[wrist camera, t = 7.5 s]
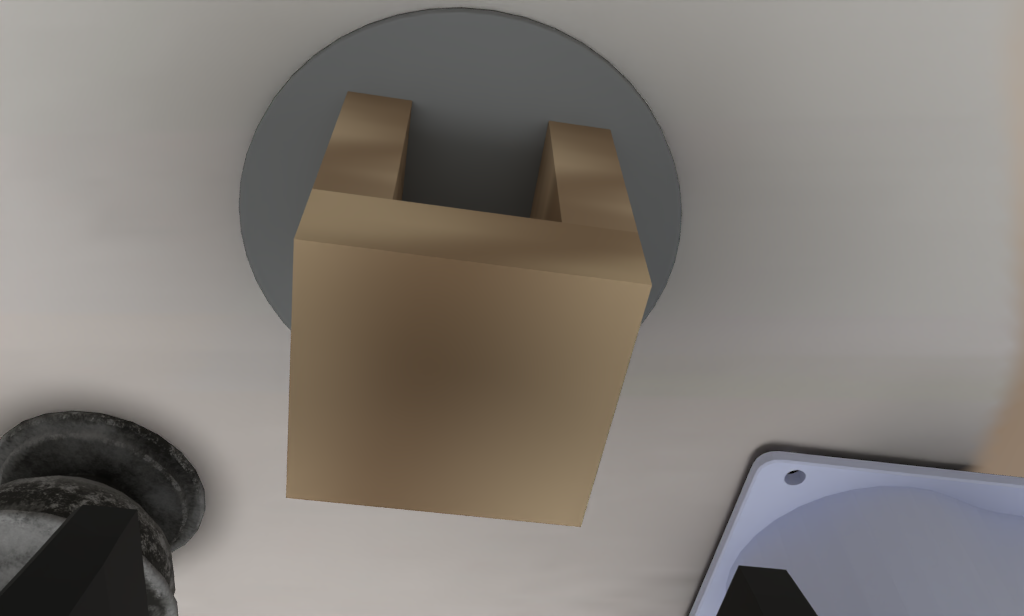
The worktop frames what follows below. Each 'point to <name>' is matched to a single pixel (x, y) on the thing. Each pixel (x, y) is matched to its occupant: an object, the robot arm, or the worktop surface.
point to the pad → (455, 129)
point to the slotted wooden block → (459, 330)
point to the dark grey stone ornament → (96, 490)
